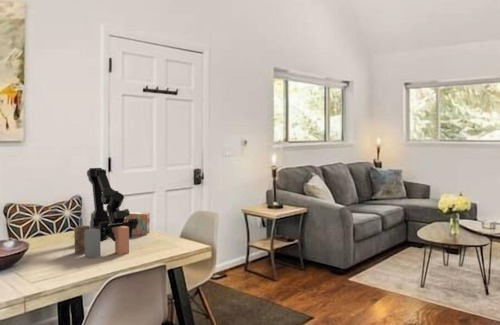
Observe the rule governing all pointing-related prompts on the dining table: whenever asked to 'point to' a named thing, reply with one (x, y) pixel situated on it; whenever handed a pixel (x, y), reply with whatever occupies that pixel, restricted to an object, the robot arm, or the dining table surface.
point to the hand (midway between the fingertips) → (123, 239)
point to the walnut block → (80, 239)
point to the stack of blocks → (142, 222)
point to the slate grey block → (92, 243)
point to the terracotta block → (122, 240)
